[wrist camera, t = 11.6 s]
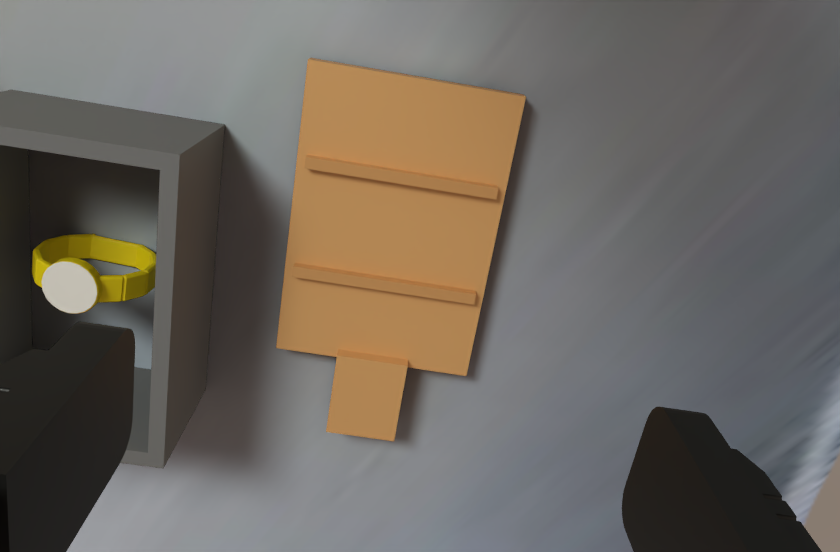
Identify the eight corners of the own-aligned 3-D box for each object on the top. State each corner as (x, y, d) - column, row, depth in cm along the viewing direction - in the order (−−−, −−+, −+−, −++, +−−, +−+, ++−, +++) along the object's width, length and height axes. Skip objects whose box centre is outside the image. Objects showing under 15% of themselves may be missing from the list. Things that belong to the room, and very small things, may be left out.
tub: (11, 89, 38) (-88, 112, 31) (224, 124, 39) (179, 154, 31) (18, 362, 44) (-63, 438, 36) (205, 389, 44) (163, 468, 37)
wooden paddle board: (312, 56, 38) (305, 60, 36) (521, 92, 39) (528, 98, 36) (274, 400, 45) (265, 423, 43) (450, 425, 46) (452, 449, 43)
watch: (66, 261, 42) (3, 299, 36) (69, 215, 41) (5, 246, 35) (169, 285, 42) (123, 327, 36) (175, 240, 41) (128, 276, 35)
